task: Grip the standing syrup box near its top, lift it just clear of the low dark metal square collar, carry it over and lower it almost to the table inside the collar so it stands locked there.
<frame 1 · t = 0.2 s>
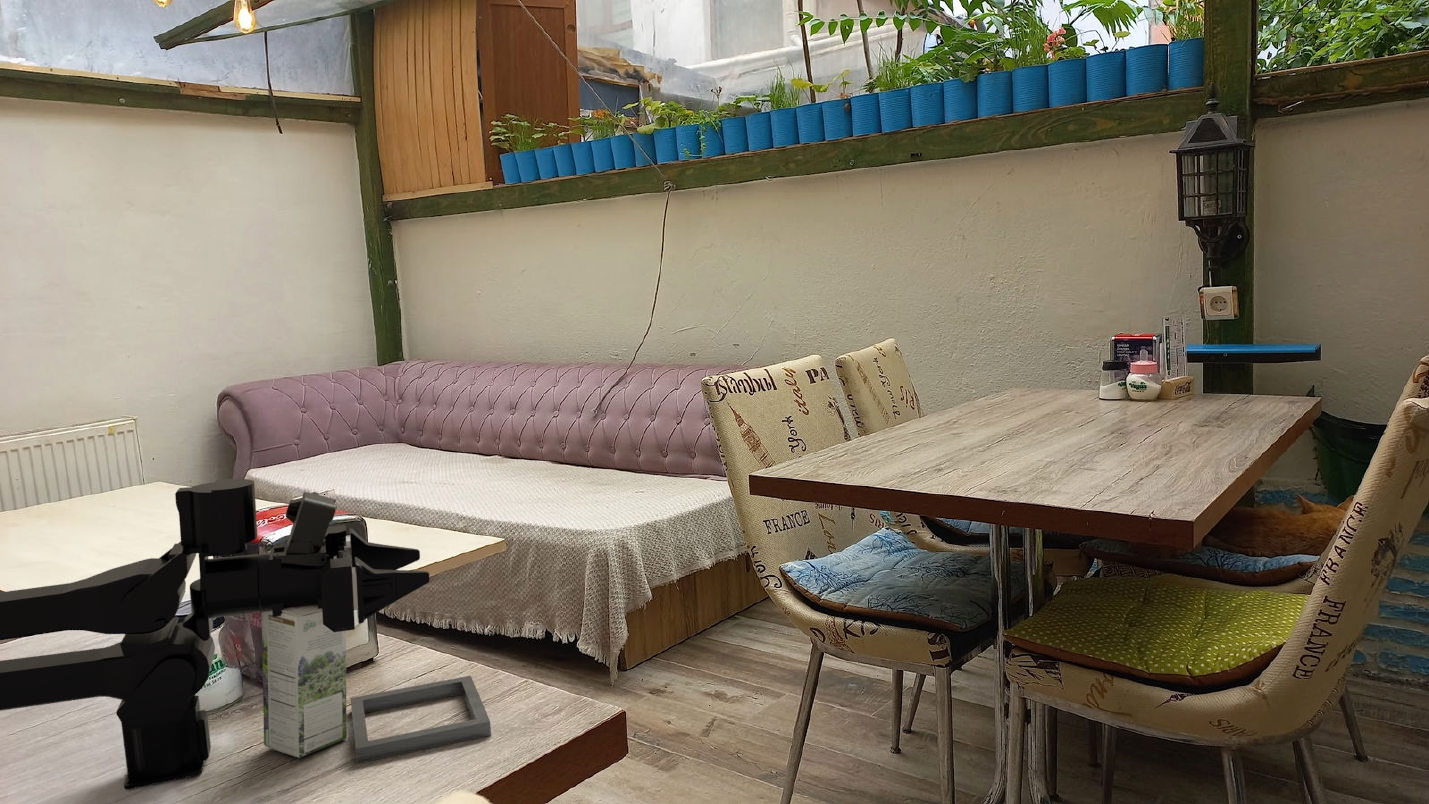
hand: (424, 565, 102), 17 cm above the table, tool horizontal, fingers open, 9 cm apart
collar socket: (419, 722, 102), on the table
syrup box: (306, 745, 98), on the table
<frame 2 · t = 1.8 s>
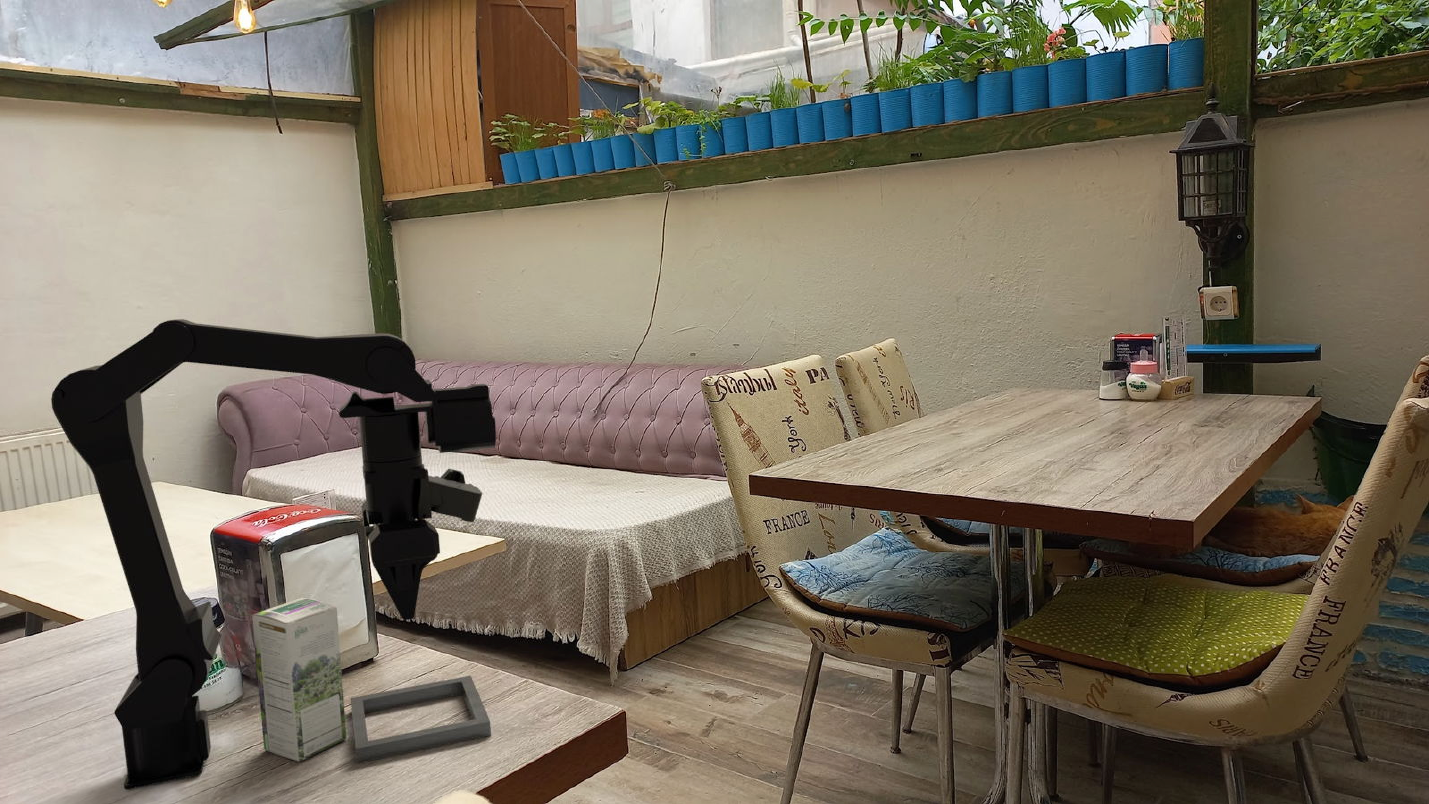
hand: (404, 605, 101), 13 cm above the table, tool pointing down, fingers open, 9 cm apart
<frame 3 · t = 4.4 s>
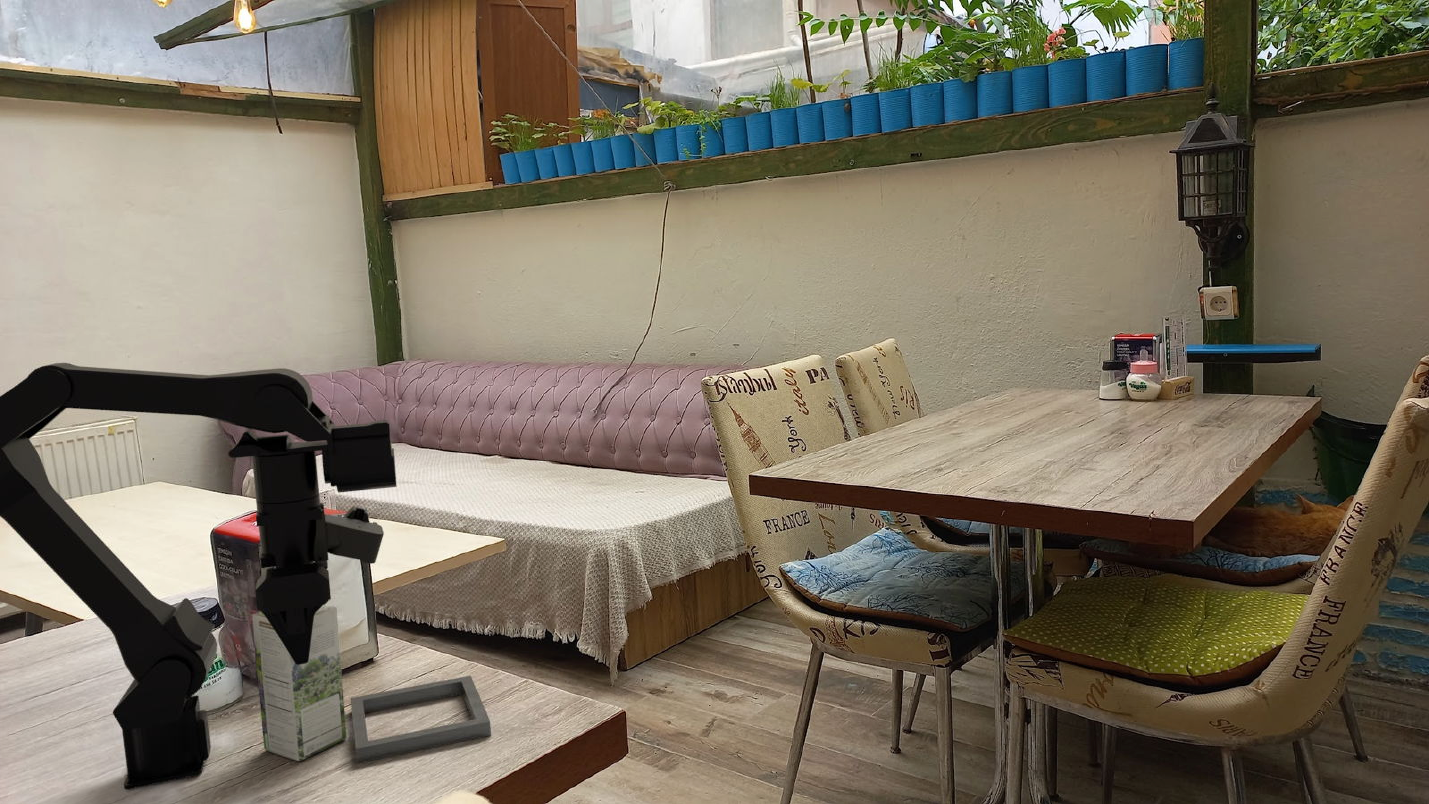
hand: (302, 649, 97), 10 cm above the table, tool pointing down, fingers closed on syrup box, 7 cm apart
syrup box: (307, 747, 98), on the table, touching gripper
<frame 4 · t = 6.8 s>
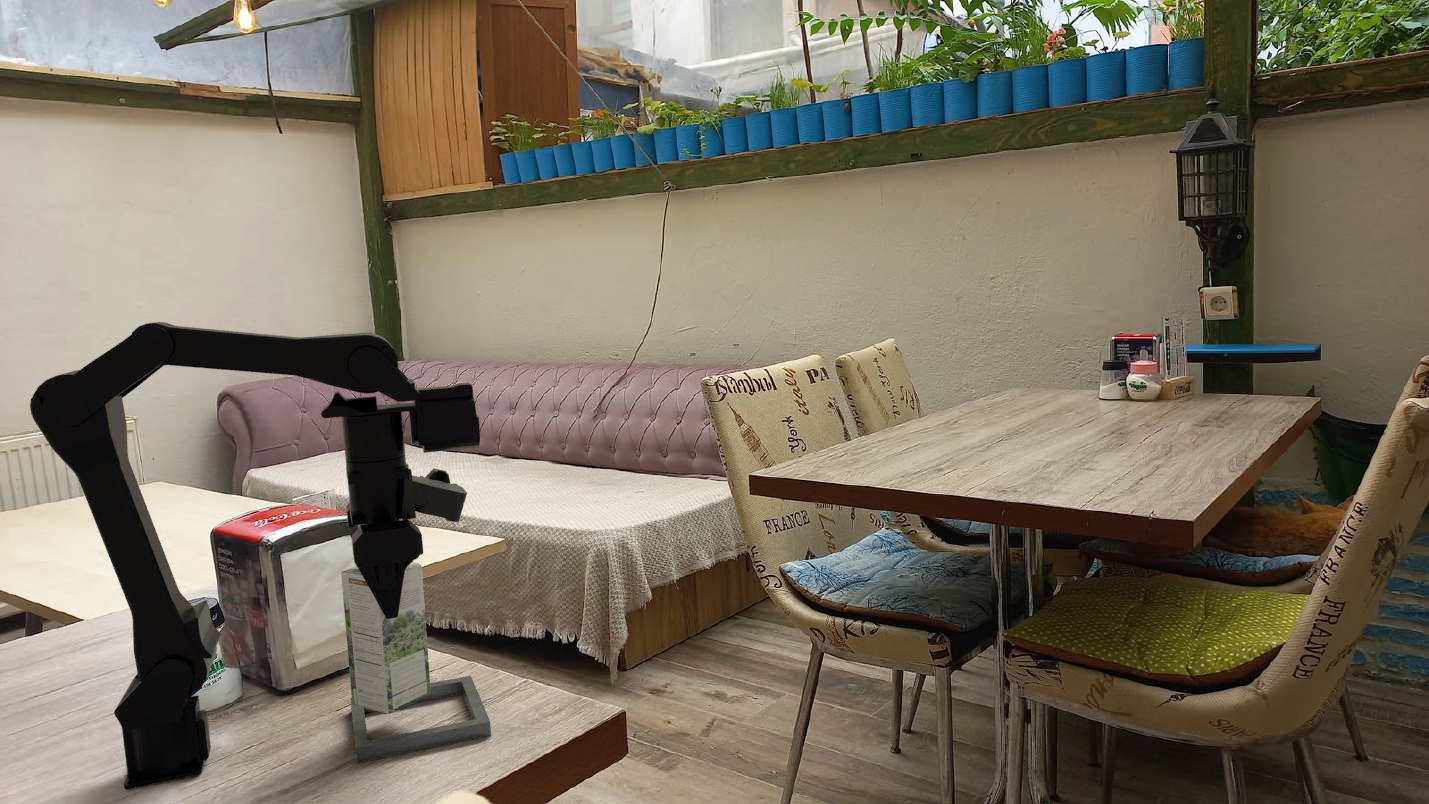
hand: (389, 606, 100), 13 cm above the table, tool pointing down, fingers closed on syrup box, 7 cm apart
syrup box: (393, 702, 101), point 3 cm above the table, touching gripper
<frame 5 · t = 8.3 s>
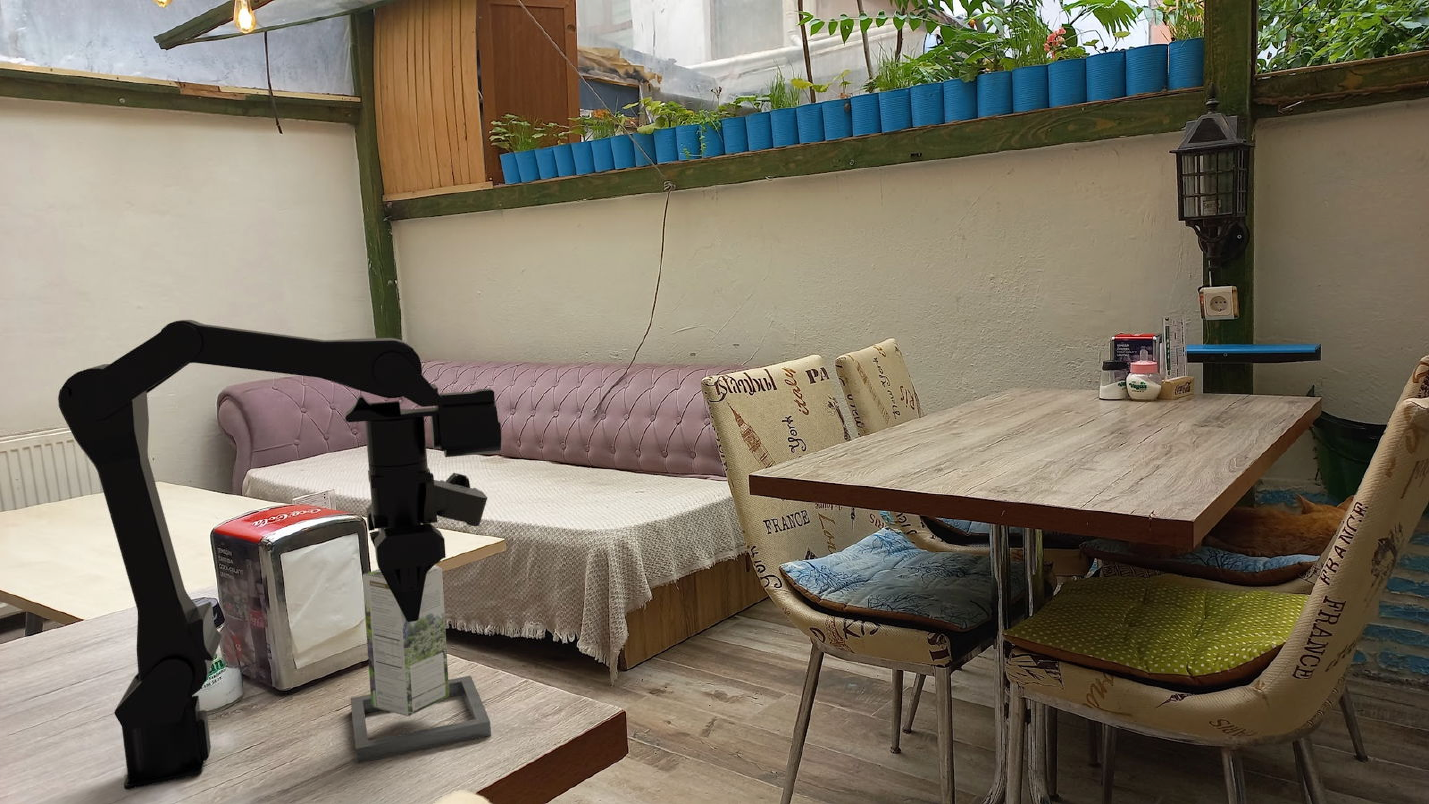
hand: (409, 609, 101), 12 cm above the table, tool pointing down, fingers closed on syrup box, 7 cm apart
syrup box: (412, 704, 102), point 2 cm above the table, touching gripper
when the fingers open (10 cm above the table, at t = 9.4 s): syrup box stays where it is, resting in collar socket.
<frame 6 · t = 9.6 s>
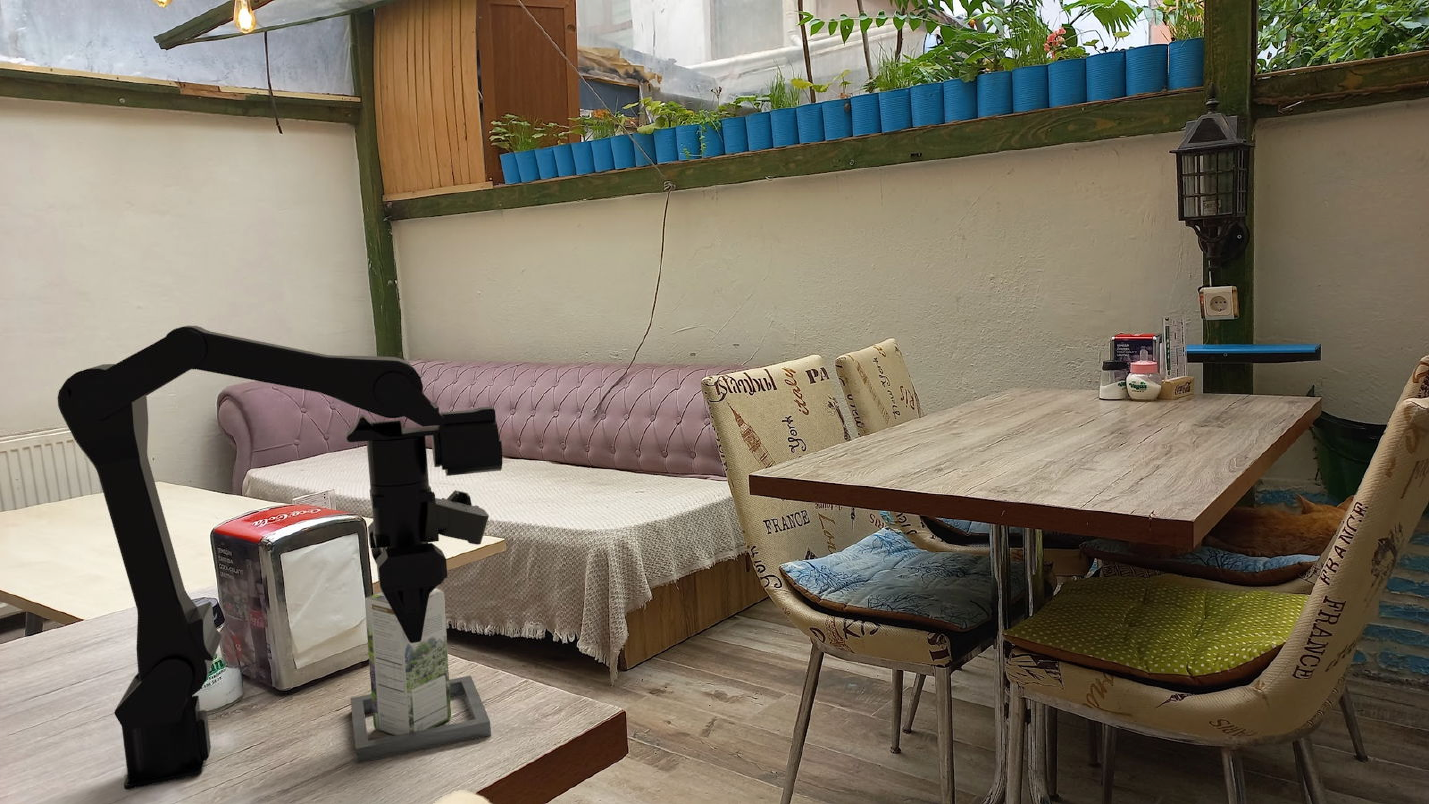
hand: (411, 627, 101), 10 cm above the table, tool pointing down, fingers open, 9 cm apart
syrup box: (414, 726, 102), resting in collar socket
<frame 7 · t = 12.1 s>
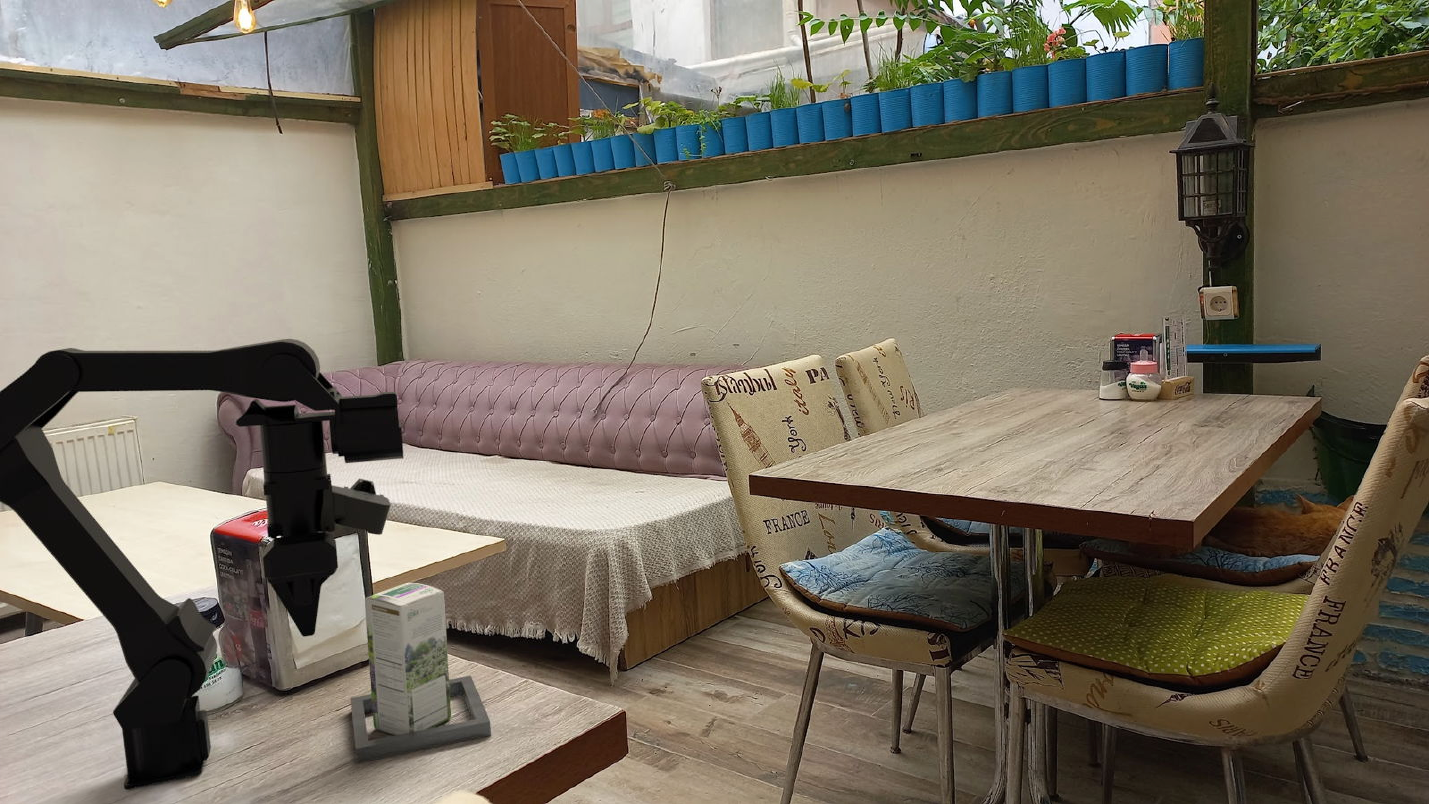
hand: (308, 620, 97), 13 cm above the table, tool pointing down, fingers open, 9 cm apart
nothing on the table moved.
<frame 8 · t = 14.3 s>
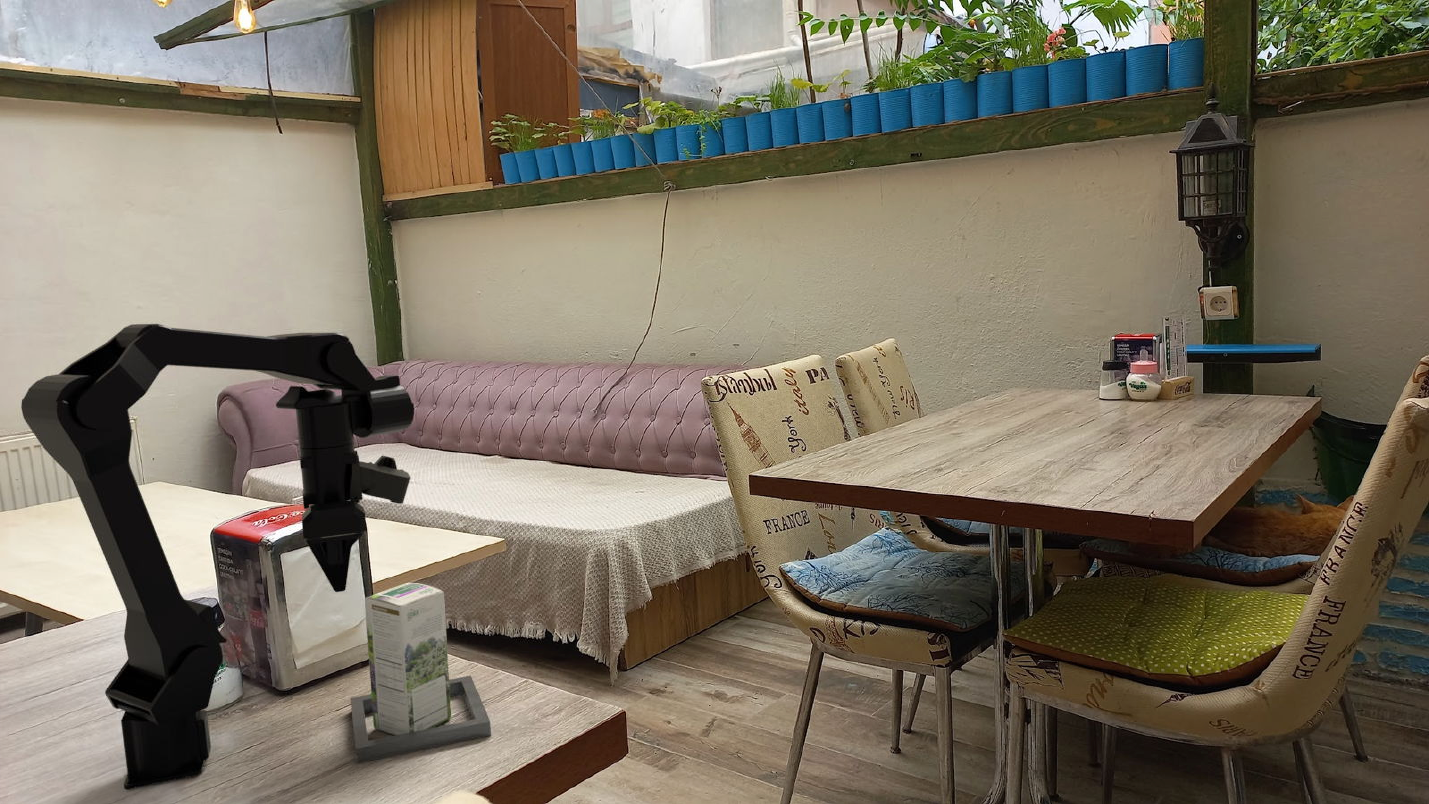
hand: (338, 579, 110), 13 cm above the table, tool pointing down, fingers open, 9 cm apart
nothing on the table moved.
at the end: syrup box 0.5 cm off-centre on the collar socket, point 0.0 cm above the collar socket's base; syrup box tilted 0°; the gripper is holding nothing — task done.
